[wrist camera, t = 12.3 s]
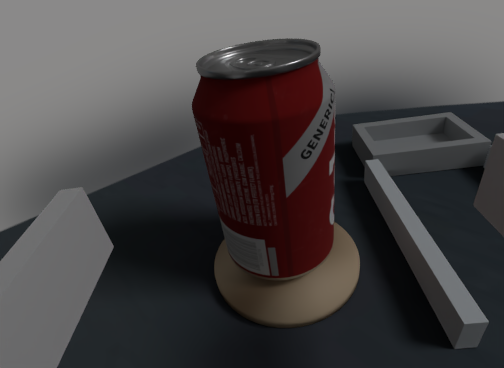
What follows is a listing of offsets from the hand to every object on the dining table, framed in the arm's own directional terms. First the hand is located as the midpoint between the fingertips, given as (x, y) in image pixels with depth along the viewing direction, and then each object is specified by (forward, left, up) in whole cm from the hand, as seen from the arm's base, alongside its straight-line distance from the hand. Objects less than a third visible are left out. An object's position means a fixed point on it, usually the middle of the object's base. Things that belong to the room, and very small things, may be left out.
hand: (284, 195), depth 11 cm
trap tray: (+4, +20, -9) cm, 23 cm away
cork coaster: (-2, +5, -9) cm, 11 cm away
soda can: (-3, +6, -9) cm, 11 cm away
